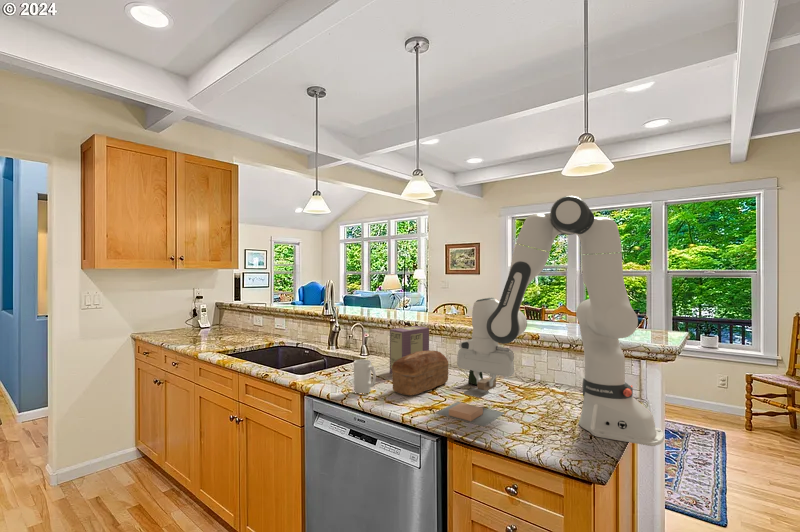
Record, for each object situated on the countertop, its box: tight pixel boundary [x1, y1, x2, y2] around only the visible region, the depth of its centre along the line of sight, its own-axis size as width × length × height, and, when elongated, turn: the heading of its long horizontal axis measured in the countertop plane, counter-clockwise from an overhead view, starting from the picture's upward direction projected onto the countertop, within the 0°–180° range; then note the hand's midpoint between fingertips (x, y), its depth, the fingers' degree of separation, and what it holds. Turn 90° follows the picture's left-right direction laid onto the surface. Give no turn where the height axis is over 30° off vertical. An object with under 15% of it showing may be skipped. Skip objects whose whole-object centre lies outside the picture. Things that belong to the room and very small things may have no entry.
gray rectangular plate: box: [434, 401, 506, 427], centre depth 136 cm, size 18×15×1 cm
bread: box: [391, 350, 450, 396], centre depth 167 cm, size 12×28×14 cm, turn 140°
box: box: [389, 325, 430, 374], centre depth 193 cm, size 17×9×20 cm, turn 133°
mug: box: [353, 358, 377, 394], centre depth 160 cm, size 10×7×12 cm, turn 53°
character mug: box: [468, 370, 484, 386], centre depth 172 cm, size 11×7×13 cm, turn 145°
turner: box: [463, 376, 497, 398], centre depth 141 cm, size 15×6×3 cm, turn 141°
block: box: [449, 402, 484, 421], centre depth 134 cm, size 8×2×8 cm
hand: (484, 385), depth 142 cm, fingers closed on turner, 2 cm apart
